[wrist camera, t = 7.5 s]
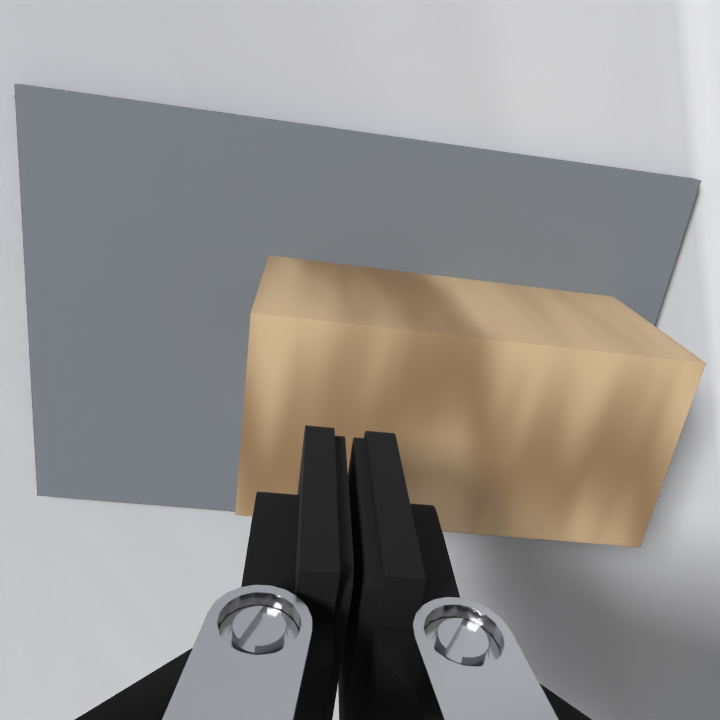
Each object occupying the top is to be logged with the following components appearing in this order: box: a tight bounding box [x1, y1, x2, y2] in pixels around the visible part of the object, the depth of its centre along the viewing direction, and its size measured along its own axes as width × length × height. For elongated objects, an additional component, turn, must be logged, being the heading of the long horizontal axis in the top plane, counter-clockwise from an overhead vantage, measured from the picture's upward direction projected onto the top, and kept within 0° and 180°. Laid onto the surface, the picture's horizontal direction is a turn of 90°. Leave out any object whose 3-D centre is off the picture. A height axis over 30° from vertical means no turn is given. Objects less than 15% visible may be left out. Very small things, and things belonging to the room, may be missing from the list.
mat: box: [14, 84, 701, 511], centre depth 20 cm, size 12×18×1 cm, turn 82°
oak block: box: [235, 255, 706, 547], centre depth 17 cm, size 5×5×10 cm
